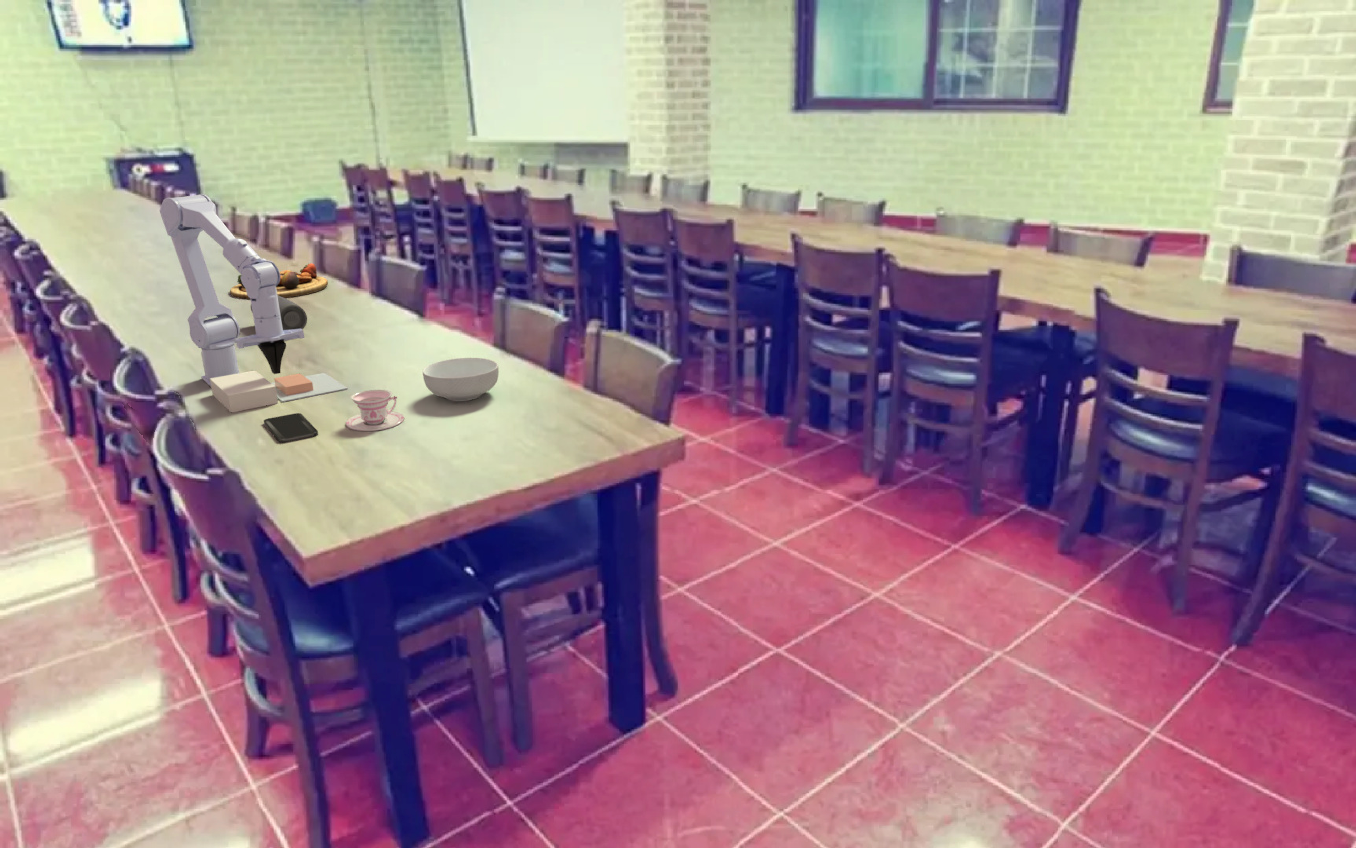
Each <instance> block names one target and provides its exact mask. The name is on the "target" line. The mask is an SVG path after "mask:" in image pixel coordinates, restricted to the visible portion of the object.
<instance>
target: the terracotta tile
mask: <svg viewBox="0 0 1356 848" xmlns="http://www.w3.org/2000/svg"><path fill="white" fill-rule="evenodd" d="M273 380H274V382H275V386H276V387H277V388H278V389H280V390H281V391H282V392H284V393H285V394H286V395H292V394H297V393H302V392H307V391H312V390H313V384H312V382H311V381H310V380H308V379H307V378H306V377H304V375H303V374H302V373H295V374H290V375H284V376H279V377H274V378H273Z"/></svg>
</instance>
